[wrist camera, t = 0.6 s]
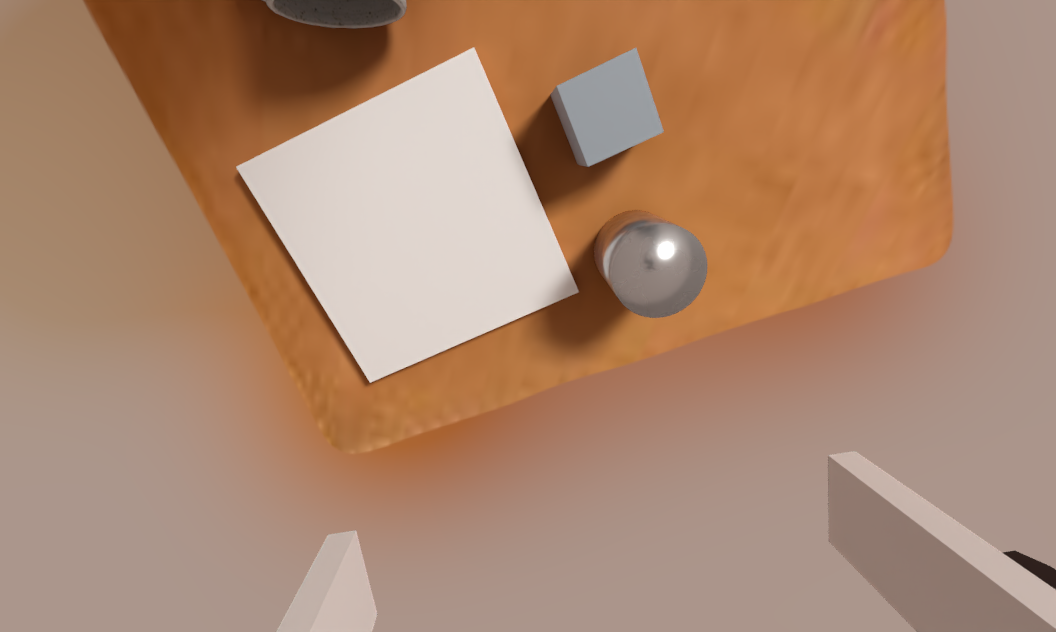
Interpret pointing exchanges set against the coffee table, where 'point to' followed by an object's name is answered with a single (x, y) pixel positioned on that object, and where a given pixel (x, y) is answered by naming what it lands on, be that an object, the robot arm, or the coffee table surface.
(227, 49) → the coffee table surface
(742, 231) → the coffee table surface
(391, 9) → the ceramic mug
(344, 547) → the robot arm
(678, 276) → the metal tin
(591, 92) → the slate block
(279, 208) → the white thin square slab
